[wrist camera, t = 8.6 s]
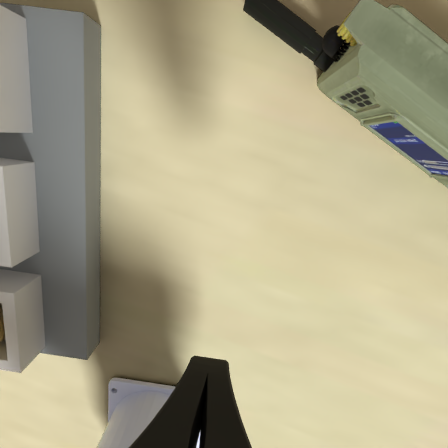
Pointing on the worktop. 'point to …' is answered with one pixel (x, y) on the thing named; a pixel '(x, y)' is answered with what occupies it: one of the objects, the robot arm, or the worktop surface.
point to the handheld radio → (378, 74)
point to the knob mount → (49, 183)
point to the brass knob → (1, 325)
